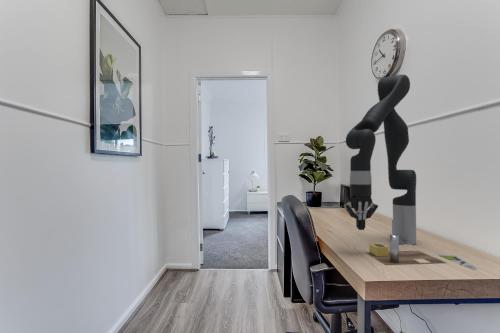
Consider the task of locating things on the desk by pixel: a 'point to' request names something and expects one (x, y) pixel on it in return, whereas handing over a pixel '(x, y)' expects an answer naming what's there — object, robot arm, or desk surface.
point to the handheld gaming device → (457, 260)
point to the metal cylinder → (394, 248)
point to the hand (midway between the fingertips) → (360, 229)
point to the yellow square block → (378, 249)
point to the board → (407, 258)
